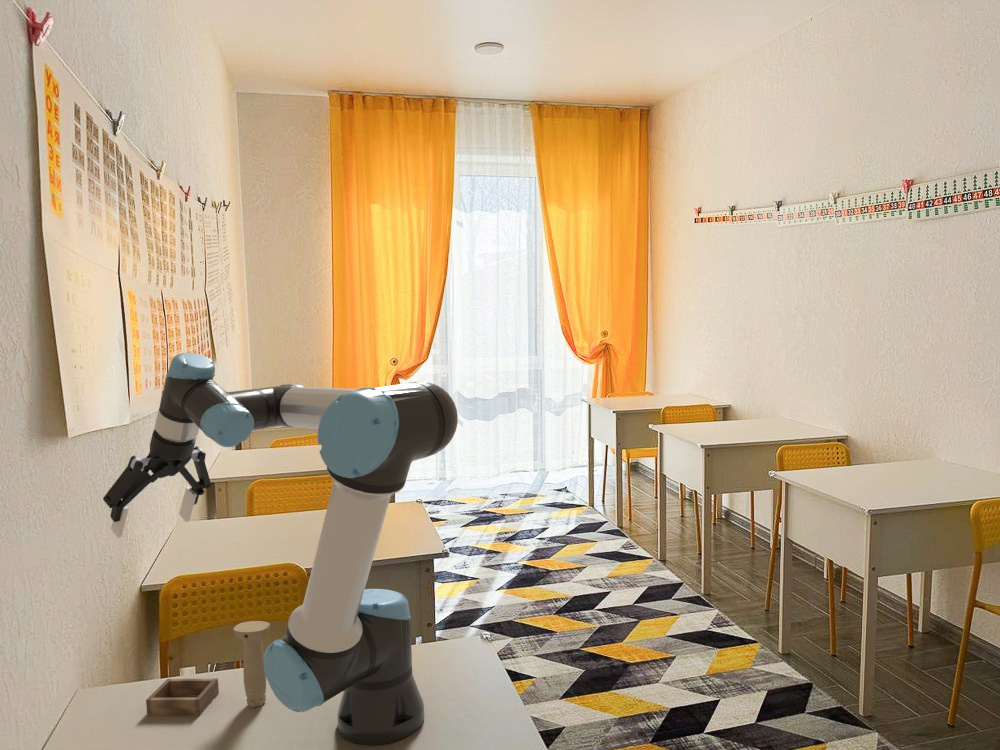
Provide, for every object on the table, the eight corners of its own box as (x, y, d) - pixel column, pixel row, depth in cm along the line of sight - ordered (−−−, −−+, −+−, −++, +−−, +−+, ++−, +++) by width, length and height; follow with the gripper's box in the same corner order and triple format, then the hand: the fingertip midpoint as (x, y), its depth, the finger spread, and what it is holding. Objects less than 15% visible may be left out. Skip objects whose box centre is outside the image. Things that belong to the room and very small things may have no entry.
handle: (267, 711, 134) (262, 632, 133) (234, 710, 135) (229, 631, 134) (278, 697, 139) (273, 621, 138) (246, 696, 140) (241, 620, 139)
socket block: (218, 693, 141) (217, 678, 141) (200, 715, 134) (199, 699, 133) (168, 693, 142) (167, 678, 142) (147, 715, 134) (146, 700, 134)
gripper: (224, 415, 147) (200, 501, 154) (97, 429, 127) (75, 528, 134) (245, 434, 143) (219, 522, 150) (117, 452, 123) (94, 552, 130)
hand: (151, 525), depth 142 cm, fingers open, 13 cm apart
